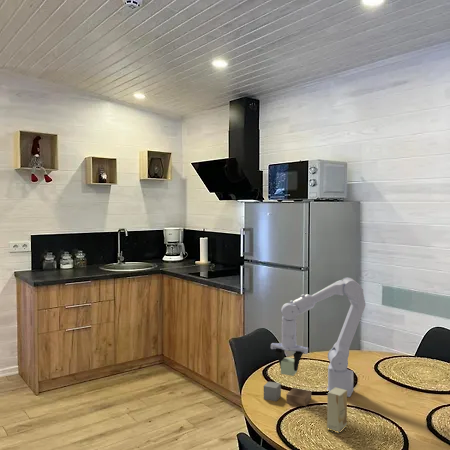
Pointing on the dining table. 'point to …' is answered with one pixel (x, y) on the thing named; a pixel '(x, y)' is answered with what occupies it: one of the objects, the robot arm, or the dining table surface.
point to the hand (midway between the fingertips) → (289, 369)
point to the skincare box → (337, 409)
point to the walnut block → (298, 397)
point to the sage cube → (288, 366)
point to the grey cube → (272, 391)
